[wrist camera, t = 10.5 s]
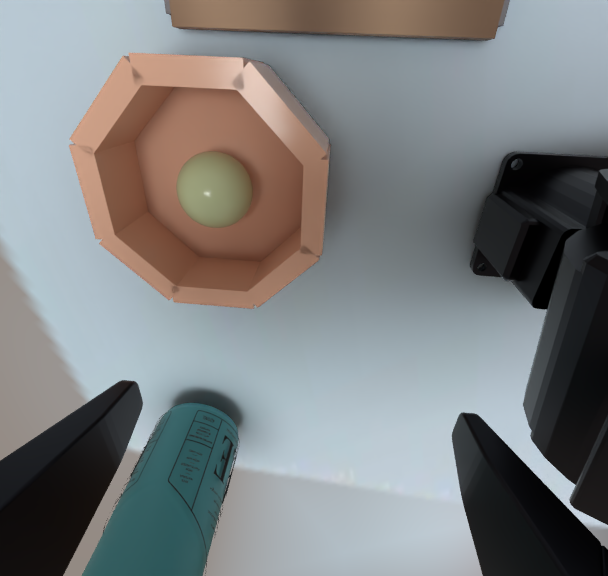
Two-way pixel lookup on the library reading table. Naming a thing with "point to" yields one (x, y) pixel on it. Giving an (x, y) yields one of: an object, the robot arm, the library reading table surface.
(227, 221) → the bowl
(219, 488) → the beverage bottle
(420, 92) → the library reading table surface
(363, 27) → the lid
